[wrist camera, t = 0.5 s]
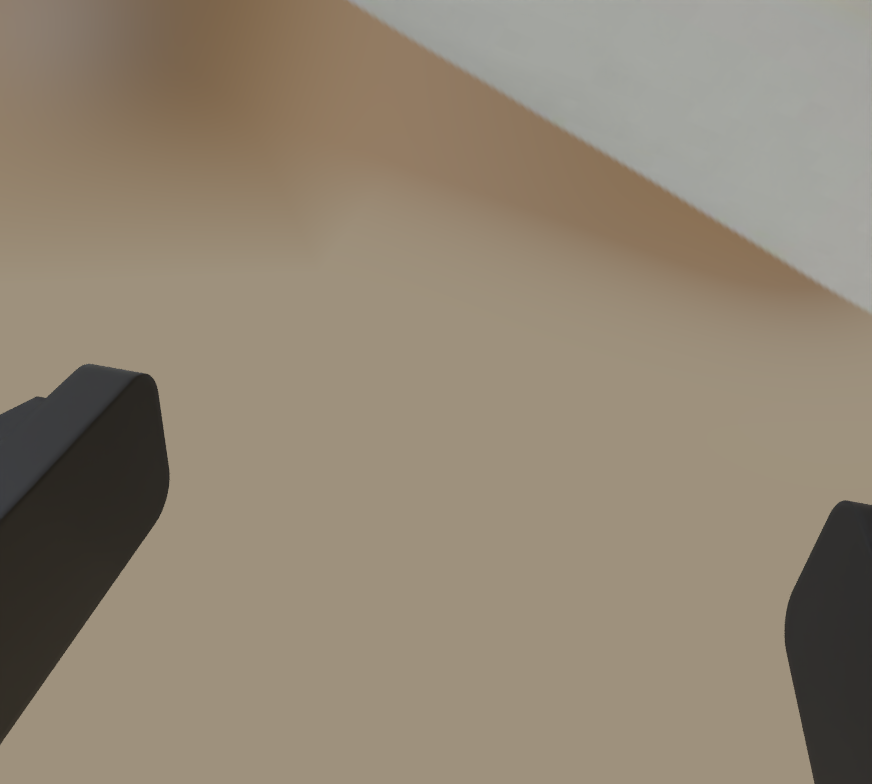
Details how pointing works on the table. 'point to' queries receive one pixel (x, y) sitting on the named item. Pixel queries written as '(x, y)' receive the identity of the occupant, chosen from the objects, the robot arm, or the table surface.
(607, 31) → the table surface
